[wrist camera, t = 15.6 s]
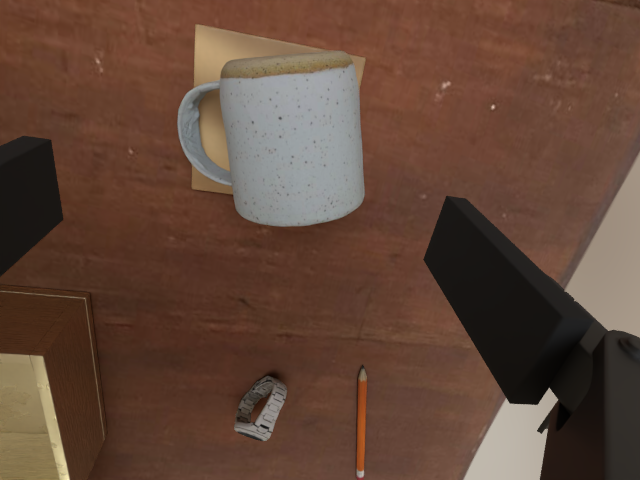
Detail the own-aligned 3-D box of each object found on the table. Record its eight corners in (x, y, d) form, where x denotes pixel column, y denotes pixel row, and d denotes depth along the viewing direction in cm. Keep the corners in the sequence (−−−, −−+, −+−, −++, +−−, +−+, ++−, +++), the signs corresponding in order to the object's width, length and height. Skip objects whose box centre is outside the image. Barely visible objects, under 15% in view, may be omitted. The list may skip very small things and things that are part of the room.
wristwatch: (229, 398, 38) (222, 447, 33) (267, 361, 36) (265, 408, 31) (258, 411, 39) (255, 460, 34) (297, 376, 37) (298, 423, 32)
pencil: (355, 474, 46) (357, 481, 45) (357, 361, 37) (359, 368, 36) (363, 473, 46) (364, 480, 45) (366, 360, 37) (368, 367, 36)
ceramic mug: (347, 43, 22) (370, 49, 16) (354, 175, 26) (375, 225, 20) (167, 62, 22) (113, 76, 16) (201, 192, 26) (170, 248, 20)
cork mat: (197, 23, 22) (194, 23, 21) (364, 56, 24) (366, 57, 23) (193, 185, 27) (191, 189, 26) (332, 203, 28) (334, 208, 28)
